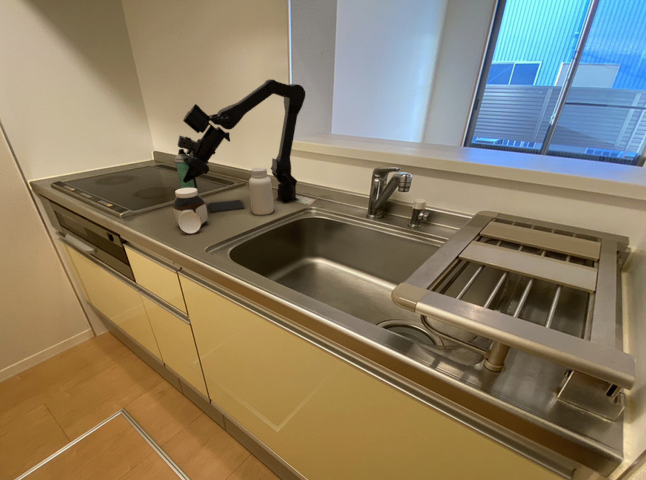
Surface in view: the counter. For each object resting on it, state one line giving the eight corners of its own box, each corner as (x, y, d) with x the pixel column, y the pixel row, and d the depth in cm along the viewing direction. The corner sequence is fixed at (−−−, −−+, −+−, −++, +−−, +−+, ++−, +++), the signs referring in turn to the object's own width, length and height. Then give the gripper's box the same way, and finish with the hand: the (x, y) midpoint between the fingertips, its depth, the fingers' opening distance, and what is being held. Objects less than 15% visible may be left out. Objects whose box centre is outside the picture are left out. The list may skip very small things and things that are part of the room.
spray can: (204, 206, 126) (192, 148, 115) (194, 210, 122) (181, 151, 111) (192, 204, 128) (180, 147, 117) (182, 209, 124) (169, 150, 113)
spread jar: (200, 218, 120) (193, 185, 113) (218, 226, 113) (212, 191, 107) (168, 228, 113) (159, 193, 106) (186, 237, 106) (178, 200, 100)
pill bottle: (254, 207, 129) (250, 166, 120) (275, 208, 128) (273, 166, 119) (249, 215, 122) (244, 171, 114) (271, 215, 121) (268, 172, 113)
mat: (239, 200, 136) (239, 199, 136) (243, 208, 128) (243, 207, 128) (209, 204, 133) (209, 203, 133) (211, 212, 125) (211, 211, 125)
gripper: (186, 122, 119) (161, 159, 122) (191, 129, 104) (162, 171, 107) (213, 144, 125) (189, 179, 129) (221, 154, 111) (193, 192, 114)
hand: (183, 180), depth 119 cm, fingers closed on spray can, 5 cm apart
